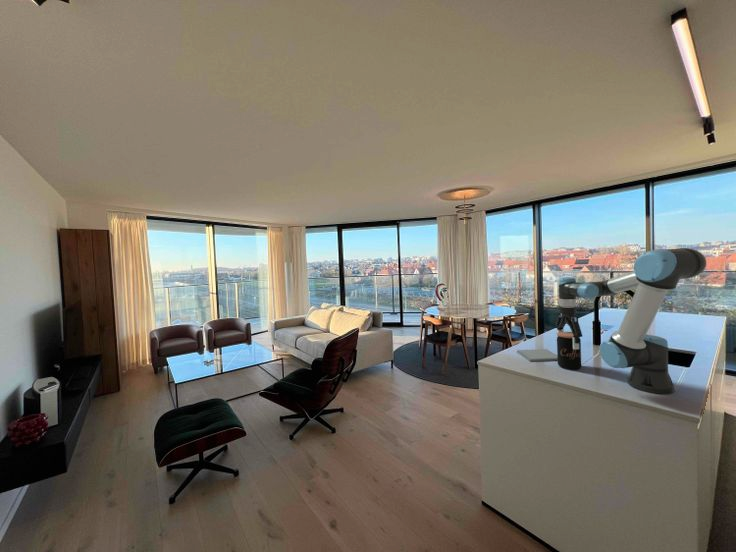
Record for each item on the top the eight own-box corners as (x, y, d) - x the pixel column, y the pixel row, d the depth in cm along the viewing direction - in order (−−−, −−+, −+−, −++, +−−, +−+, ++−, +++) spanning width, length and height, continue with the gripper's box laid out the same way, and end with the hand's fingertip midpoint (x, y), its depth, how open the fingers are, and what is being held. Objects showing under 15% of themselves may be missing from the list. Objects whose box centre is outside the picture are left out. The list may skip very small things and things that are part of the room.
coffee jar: (558, 369, 160) (557, 335, 159) (556, 362, 170) (555, 331, 169) (583, 371, 155) (582, 337, 154) (579, 364, 165) (578, 332, 164)
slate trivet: (562, 360, 172) (562, 358, 172) (530, 361, 174) (529, 359, 173) (546, 350, 190) (545, 348, 190) (516, 352, 191) (516, 350, 191)
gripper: (590, 310, 148) (591, 352, 150) (561, 302, 173) (562, 338, 174) (574, 311, 149) (575, 353, 150) (547, 302, 174) (548, 339, 175)
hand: (568, 345), depth 162 cm, fingers open, 13 cm apart
